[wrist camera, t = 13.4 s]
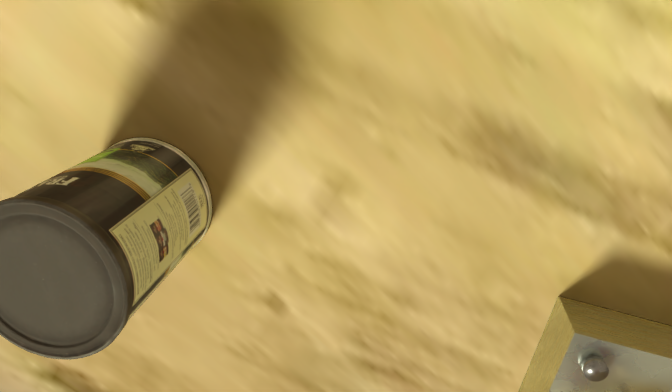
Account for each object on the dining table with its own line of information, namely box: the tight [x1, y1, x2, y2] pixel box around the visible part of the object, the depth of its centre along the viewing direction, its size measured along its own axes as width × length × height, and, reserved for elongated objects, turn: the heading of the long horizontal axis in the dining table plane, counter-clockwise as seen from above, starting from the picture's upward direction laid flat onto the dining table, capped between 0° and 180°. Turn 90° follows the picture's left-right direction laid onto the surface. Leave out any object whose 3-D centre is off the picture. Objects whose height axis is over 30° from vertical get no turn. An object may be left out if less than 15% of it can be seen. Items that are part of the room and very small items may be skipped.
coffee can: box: [0, 138, 212, 359], centre depth 39 cm, size 10×10×14 cm
